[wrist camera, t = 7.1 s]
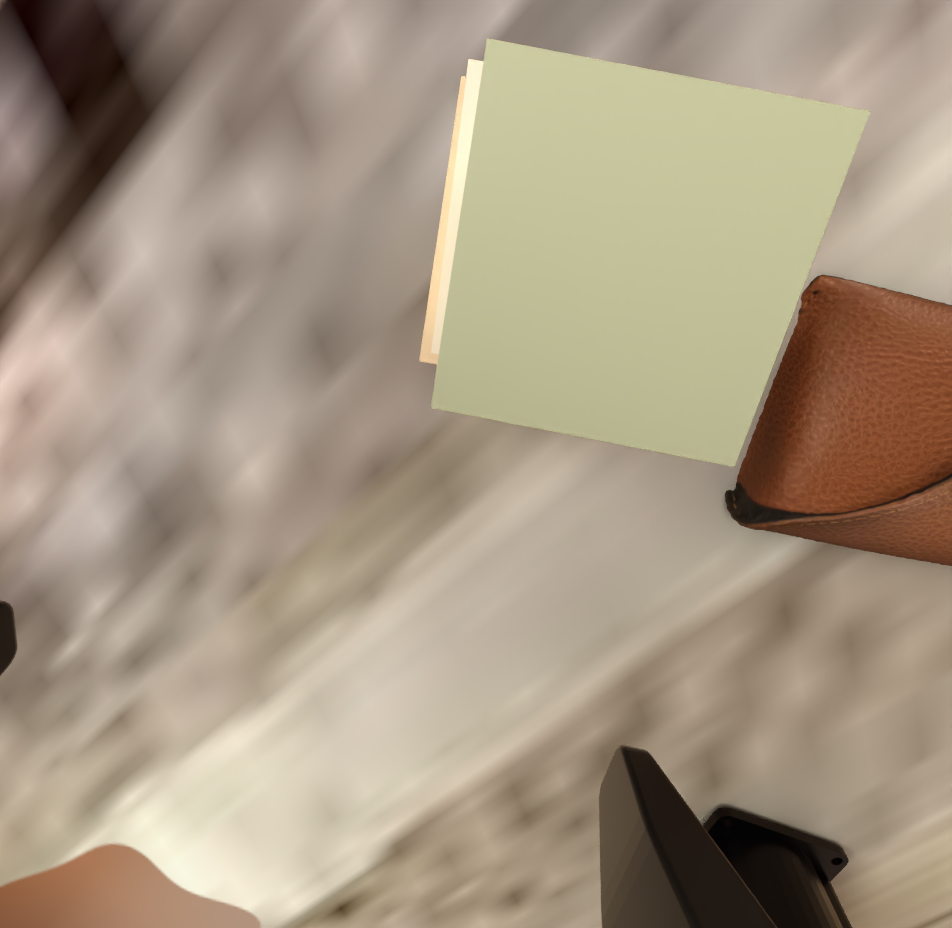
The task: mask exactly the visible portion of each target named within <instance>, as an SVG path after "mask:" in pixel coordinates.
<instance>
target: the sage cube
mask: <svg viewBox="0 0 952 928" xmlns="http://www.w3.org/2000/svg"><path fill="white" fill-rule="evenodd" d="M869 114H870V111H866V110H861V109H856V108H850V107H845V106H840V105H835V104H829V103H824V102H819V101H814V100H808V99H803V98H798V97H793V96H787V95H782V94H777V93H772V92H766V91H761V90H756V89H750V88H745V87H740V86H735V85H729V84H724V83H719V82H714V81H708V80H703V79H698V78H693V77H687V76H682V75H677V74H672V73H666V72H661V71H656V70H651V69H645V68H640V67H635V66H629V65H624V64H619V63H614V62H608V61H603V60H598V59H593V58H587V57H582V56H577V55H572V54H566V53H561V52H556V51H551V50H545V49H540V48H535V47H530V46H524V45H519V44H514V43H508V42H503V41H498V40H493V39H487V42H486V49H485V55H484V62H483V69H482V75H481V82H480V88H479V95H478V101H477V108H476V114H475V121H474V127H473V134H472V140H471V147H470V154H469V160H468V167H467V173H466V180H465V186H464V193H463V199H462V206H461V212H460V219H459V225H458V232H457V238H456V245H455V252H454V258H453V265H452V271H451V278H450V284H449V291H448V297H447V304H446V310H445V317H444V323H443V330H442V337H441V343H440V350H439V356H438V363H437V369H436V376H435V382H434V389H433V395H432V402H431V408H434V409H439V410H444V411H449V412H455V413H460V414H465V415H470V416H475V417H480V418H485V419H491V420H496V421H501V422H506V423H511V424H516V425H521V426H527V427H532V428H537V429H542V430H547V431H552V432H557V433H563V434H568V435H573V436H578V437H583V438H588V439H593V440H599V441H604V442H609V443H614V444H619V445H624V446H629V447H635V448H640V449H645V450H650V451H655V452H660V453H665V454H671V455H676V456H681V457H686V458H691V459H696V460H701V461H707V462H712V463H717V464H722V465H727V466H732V467H735V465H736V462H737V459H738V457H739V454H740V452H741V449H742V446H743V444H744V441H745V438H746V436H747V433H748V431H749V428H750V425H751V423H752V420H753V418H754V415H755V412H756V410H757V407H758V404H759V402H760V399H761V397H762V394H763V391H764V389H765V386H766V383H767V381H768V378H769V376H770V373H771V370H772V368H773V365H774V363H775V360H776V357H777V355H778V352H779V349H780V347H781V344H782V342H783V339H784V336H785V334H786V331H787V329H788V326H789V323H790V321H791V318H792V315H793V313H794V310H795V308H796V305H797V302H798V300H799V297H800V294H801V292H802V289H803V287H804V284H805V281H806V279H807V276H808V274H809V271H810V268H811V266H812V263H813V260H814V258H815V255H816V253H817V250H818V247H819V245H820V242H821V239H822V237H823V234H824V232H825V229H826V226H827V224H828V221H829V219H830V216H831V213H832V211H833V208H834V205H835V203H836V200H837V198H838V195H839V192H840V190H841V187H842V184H843V182H844V179H845V177H846V174H847V171H848V169H849V166H850V164H851V161H852V158H853V156H854V153H855V150H856V148H857V145H858V143H859V140H860V137H861V135H862V132H863V129H864V127H865V124H866V122H867V119H868V116H869Z"/></svg>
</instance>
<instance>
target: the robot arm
mask: <svg viewBox="0 0 952 928" xmlns="http://www.w3.org/2000/svg"><path fill="white" fill-rule="evenodd" d="M16 651H17V637H16V628H15V619H14V611H13V608H12V606H11V605H10V604H9V603H7V602H5V601H1V600H0V676H1V675H2V673H3V672H4V671H5V670H6V669H7V668H8V666H9V665H10V664H11V662H12V660H13V659H14V657H15V654H16ZM599 820H600V871H601V912H602V928H852V926H851V924H850V922H849V920H848V918H847V916H846V914H845V912H844V910H843V908H842V906H841V904H840V902H839V900H838V898H837V896H836V893H835V891H834V889H833V887H832V885H831V883H830V881H831V880H832V879H833V878H834V877H835V876H836V875H837V874H838V873H839V872H840V871H841V870H842V869H843V868H844V867H845V866H846V865H847V863H848V857H847V855H846V854H845V852H844V850H843V849H842V847H840V846H838V845H835V844H832V843H829V842H826V841H823V840H820V839H817V838H815V837H812V836H809V835H806V834H803V833H800V832H797V831H794V830H791V829H788V828H786V827H783V826H780V825H777V824H774V823H771V822H768V821H765V820H762V819H759V818H757V817H754V816H751V815H748V814H745V813H742V812H739V811H736V810H733V809H730V808H726V807H725V808H719V809H717V810H716V811H715V812H714V813H713V814H712V815H711V817H710V818H709V819H708V820H707V822H706V823H705V824H704V825H702V824H701V823H700V821H699V820H698V819H697V817H696V816H695V814H694V813H693V812H692V810H691V809H690V808H689V806H688V805H687V804H686V802H685V801H684V799H683V798H682V797H681V795H680V794H679V793H678V791H677V790H676V788H675V787H674V786H673V784H672V783H671V782H670V780H669V779H668V777H667V776H666V775H665V773H664V772H663V771H662V769H661V768H660V766H659V765H658V764H657V762H656V761H655V760H654V758H653V757H652V756H651V754H650V753H648V752H647V751H646V750H644V749H639V748H635V747H631V746H627V745H620V746H618V748H617V749H616V750H615V752H614V755H613V757H612V760H611V762H610V764H609V767H608V769H607V772H606V774H605V776H604V779H603V781H602V784H601V788H600V795H599Z"/></svg>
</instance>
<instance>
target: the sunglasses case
mask: <svg viewBox="0 0 952 928" xmlns="http://www.w3.org/2000/svg"><path fill="white" fill-rule="evenodd" d="M801 300H802V305H801V308H800V310H799V317H798V324H797V325H796V327H795V329H794V333H793V335H792V337H791V339H790V341H789V344H788V347H787V349H786V352H785V355H784V356H783V359H782V362H781V363H780V367H779V370H778V372H777V375H776V377H775V379H774V381H773V385H772V387H771V390H770V392H769V396H768V398H767V400H766V402H765V405H764V409H763V412H762V414H761V415H760V417H759V421H758V423H757V426H756V429H755V431H754V434H753V436H752V439H751V442H750V444H749V447H748V450H747V455H746V457H745V458H744V460H743V462H742V465H741V468H740V472H739V475H738V477H737V484H736V489H735V490H734V491H731V490H728V491H726V493H725V498H726V503H727V509H728V511H729V512H730V513H731V516H732V518H733V519H734V520H736V521H737V522H738V523H739V524H740V525H742V526H744V527H747V528H751V529H755V530H766V531H772V532H778V533H782V534H787V535H791V536H796V537H801V538H804V539H810V540H814V541H819V542H825V543H829V544H835V545H840V546H845V547H849V548H855V549H859V550H864V551H870V552H876V553H880V554H886V555H891V556H897V557H904V558H909V559H915V560H919V561H927V562H932V563H939V564H941V565H950V566H952V305H947V304H944V303H940V302H935V301H931V300H928V299H923V298H921V297H916V296H913V295H909V294H904V293H901V292H895V291H891V290H887V289H885V288H879V287H876V286H872V285H868V284H863V283H860V282H855V281H853V280H846V279H843V278H839V277H833V276H826V275H821V276H818V277H817V278H815V279H814V280H813V281H812V282H811V283H810V285H809V286H808V287H807V288H806V290H805V291H804V292H803V294H802V297H801Z"/></svg>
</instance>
